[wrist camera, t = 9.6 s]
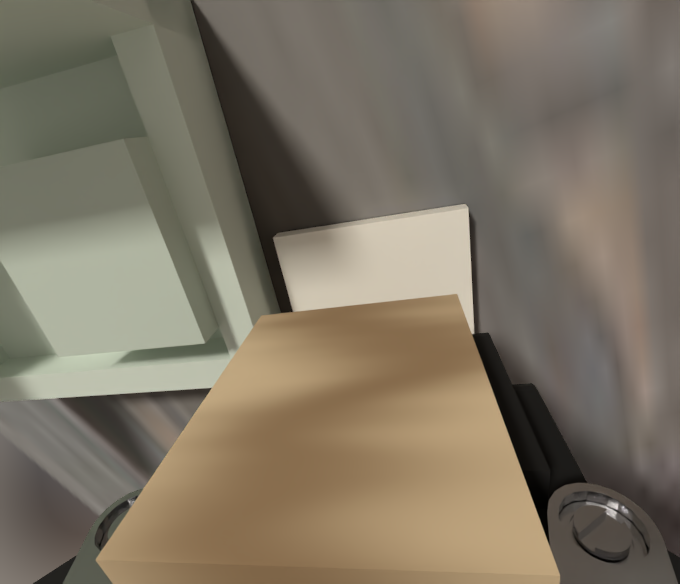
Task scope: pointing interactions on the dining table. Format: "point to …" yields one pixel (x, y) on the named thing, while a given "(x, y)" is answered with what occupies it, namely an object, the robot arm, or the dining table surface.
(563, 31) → the dining table surface
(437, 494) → the oak block
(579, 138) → the dining table surface
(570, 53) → the dining table surface
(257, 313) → the pale grey angled piece
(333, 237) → the cream tile
